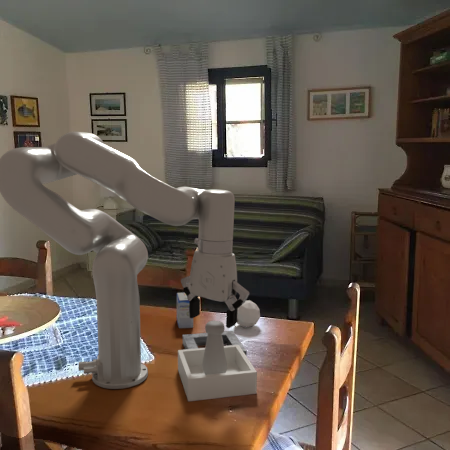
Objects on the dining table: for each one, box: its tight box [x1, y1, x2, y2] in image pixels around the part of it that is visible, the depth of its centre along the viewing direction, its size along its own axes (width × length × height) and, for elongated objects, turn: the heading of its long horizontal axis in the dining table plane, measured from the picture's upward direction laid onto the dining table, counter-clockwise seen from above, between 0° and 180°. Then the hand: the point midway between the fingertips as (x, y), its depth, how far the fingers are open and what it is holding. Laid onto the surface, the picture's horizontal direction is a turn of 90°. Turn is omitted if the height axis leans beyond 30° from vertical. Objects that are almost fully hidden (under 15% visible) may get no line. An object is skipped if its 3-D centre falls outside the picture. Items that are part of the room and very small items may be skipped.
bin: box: [177, 345, 258, 402], centre depth 110 cm, size 15×15×5 cm
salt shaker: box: [202, 320, 228, 375], centre depth 110 cm, size 6×6×13 cm
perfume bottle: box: [234, 299, 261, 329], centre depth 143 cm, size 8×8×12 cm
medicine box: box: [176, 292, 194, 329], centre depth 146 cm, size 8×4×9 cm, turn 10°
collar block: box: [182, 330, 248, 357], centre depth 127 cm, size 14×14×2 cm
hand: (212, 321), depth 109 cm, fingers open, 9 cm apart
